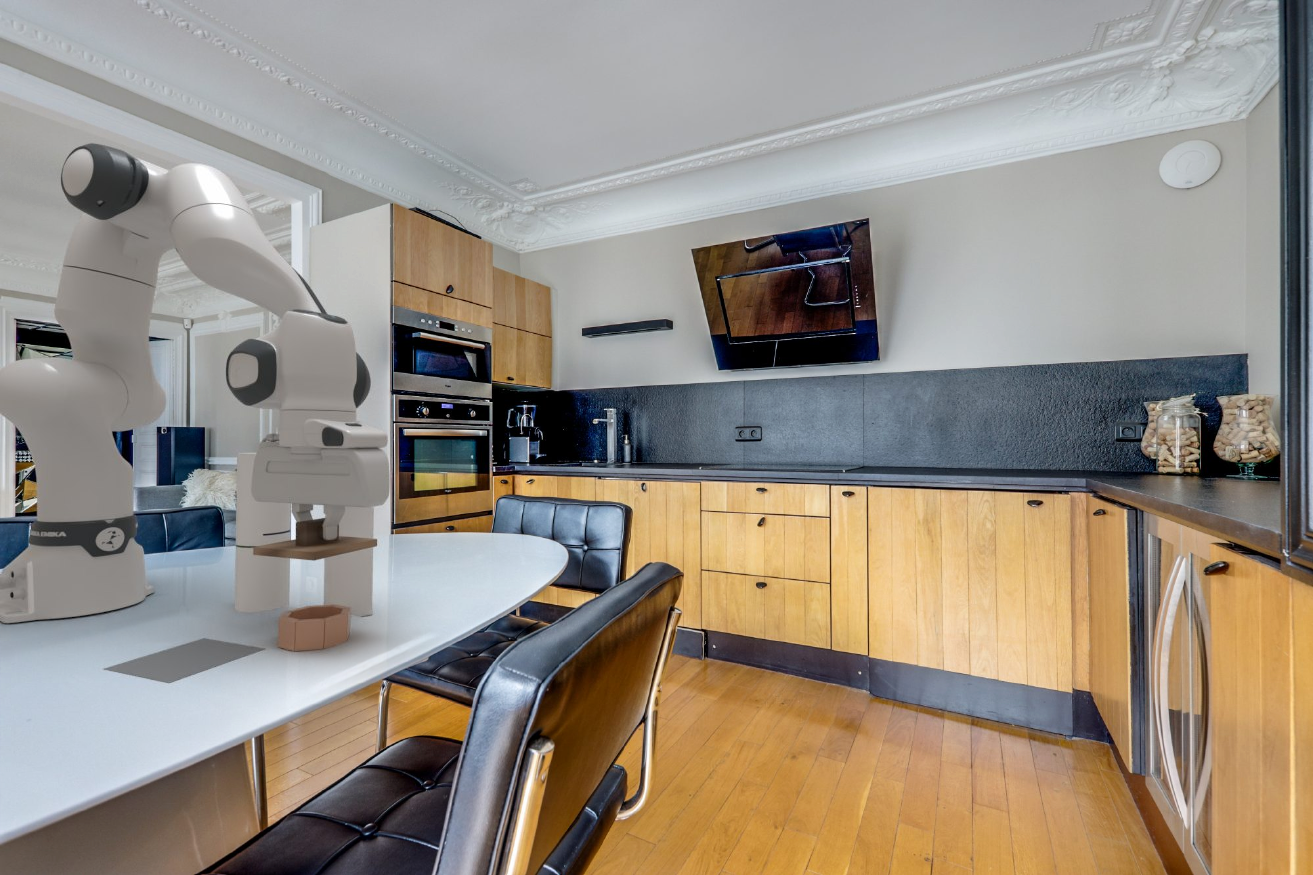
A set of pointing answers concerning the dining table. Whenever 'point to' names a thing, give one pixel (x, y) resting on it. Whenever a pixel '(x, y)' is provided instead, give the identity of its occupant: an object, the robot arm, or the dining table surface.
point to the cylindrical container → (256, 525)
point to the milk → (352, 566)
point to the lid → (313, 544)
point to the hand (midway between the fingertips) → (318, 538)
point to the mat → (184, 660)
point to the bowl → (314, 627)
